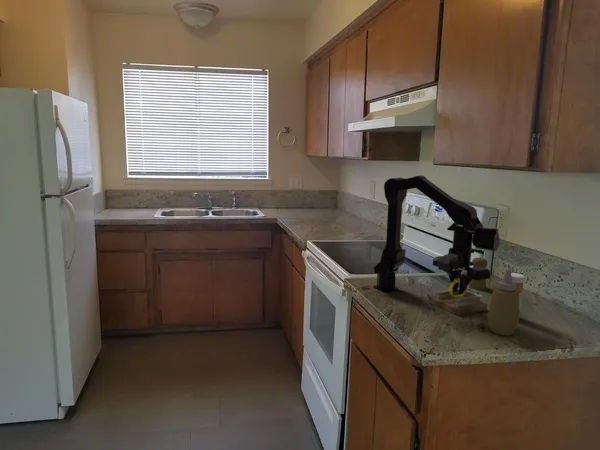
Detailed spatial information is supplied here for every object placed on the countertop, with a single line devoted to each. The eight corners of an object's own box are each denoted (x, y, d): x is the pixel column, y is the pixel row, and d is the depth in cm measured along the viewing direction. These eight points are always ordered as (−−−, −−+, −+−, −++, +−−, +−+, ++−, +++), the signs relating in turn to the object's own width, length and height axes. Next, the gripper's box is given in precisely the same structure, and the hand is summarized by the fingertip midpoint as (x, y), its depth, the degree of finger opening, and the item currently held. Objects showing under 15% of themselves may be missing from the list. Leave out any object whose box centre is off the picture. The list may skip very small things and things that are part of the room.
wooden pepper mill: (486, 290, 160) (489, 261, 158) (468, 288, 162) (471, 259, 160) (485, 285, 166) (488, 257, 164) (468, 283, 168) (470, 255, 166)
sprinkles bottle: (500, 314, 138) (504, 272, 136) (514, 314, 138) (519, 272, 136) (508, 320, 134) (513, 277, 131) (523, 320, 134) (528, 276, 132)
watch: (452, 299, 142) (452, 281, 141) (447, 296, 144) (447, 279, 143) (468, 297, 143) (469, 279, 142) (463, 294, 146) (463, 276, 145)
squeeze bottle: (523, 337, 122) (531, 274, 118) (495, 338, 121) (501, 274, 118) (507, 325, 130) (514, 265, 126) (480, 326, 129) (486, 265, 126)
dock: (428, 302, 147) (429, 290, 147) (455, 297, 153) (456, 286, 152) (459, 316, 136) (460, 303, 135) (486, 310, 142) (487, 297, 141)
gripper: (421, 241, 145) (418, 287, 148) (467, 255, 129) (462, 306, 132) (447, 239, 150) (443, 283, 153) (493, 251, 134) (488, 301, 137)
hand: (457, 293), depth 144 cm, fingers closed on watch, 2 cm apart
